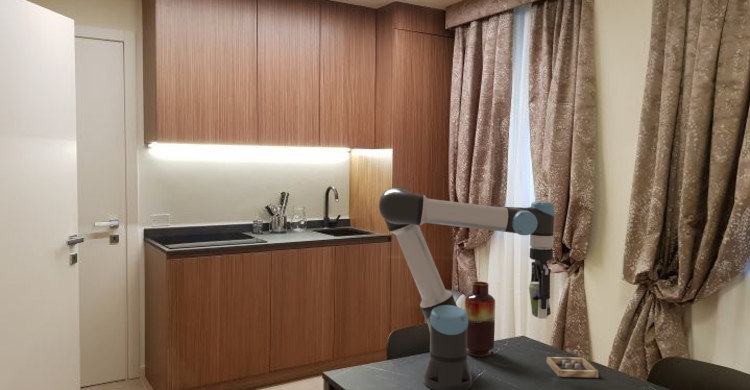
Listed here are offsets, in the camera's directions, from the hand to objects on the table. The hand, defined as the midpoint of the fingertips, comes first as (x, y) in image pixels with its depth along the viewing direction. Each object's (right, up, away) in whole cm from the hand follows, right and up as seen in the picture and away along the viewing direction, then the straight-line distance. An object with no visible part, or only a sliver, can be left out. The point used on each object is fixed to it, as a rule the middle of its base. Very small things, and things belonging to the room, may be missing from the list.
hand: (539, 315), depth 181 cm
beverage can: (0, -1, 0) cm, 1 cm away
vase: (-17, -18, +17) cm, 30 cm away
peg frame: (+12, -19, +2) cm, 22 cm away
